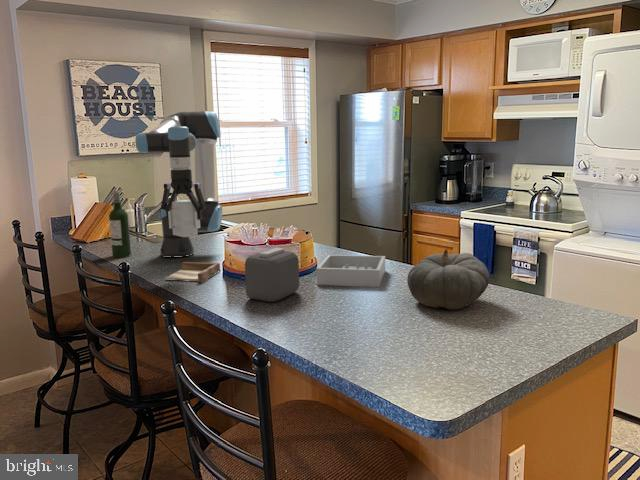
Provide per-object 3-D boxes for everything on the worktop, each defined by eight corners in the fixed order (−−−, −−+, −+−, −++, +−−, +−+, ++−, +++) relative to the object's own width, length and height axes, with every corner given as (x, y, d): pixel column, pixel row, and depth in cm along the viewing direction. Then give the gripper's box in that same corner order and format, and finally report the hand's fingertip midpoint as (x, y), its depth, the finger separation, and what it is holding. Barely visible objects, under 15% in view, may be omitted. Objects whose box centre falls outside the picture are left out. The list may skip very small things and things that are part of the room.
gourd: (491, 285, 181) (487, 236, 176) (492, 322, 159) (488, 267, 153) (414, 288, 189) (408, 241, 183) (406, 324, 166) (398, 271, 161)
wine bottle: (109, 257, 249) (102, 191, 244) (120, 253, 257) (114, 189, 251) (124, 258, 247) (118, 191, 241) (134, 254, 254) (129, 189, 249)
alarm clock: (275, 288, 194) (273, 244, 191) (302, 292, 188) (301, 247, 185) (246, 300, 180) (244, 254, 177) (274, 305, 174) (272, 257, 171)
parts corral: (328, 269, 218) (328, 254, 217) (385, 271, 214) (385, 256, 213) (316, 284, 197) (316, 268, 196) (379, 286, 192) (379, 270, 191)
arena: (183, 270, 222) (183, 262, 221) (220, 271, 219) (219, 263, 218) (163, 281, 205) (162, 272, 205) (202, 283, 202) (201, 273, 202)
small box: (198, 235, 209) (196, 201, 206) (183, 237, 204) (181, 202, 202) (187, 232, 214) (184, 199, 212) (172, 235, 210) (169, 201, 208)
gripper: (148, 169, 203) (152, 229, 208) (205, 169, 199) (208, 230, 203) (157, 168, 211) (162, 225, 215) (213, 168, 206) (216, 226, 210)
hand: (184, 228), depth 209 cm, fingers closed on small box, 10 cm apart
